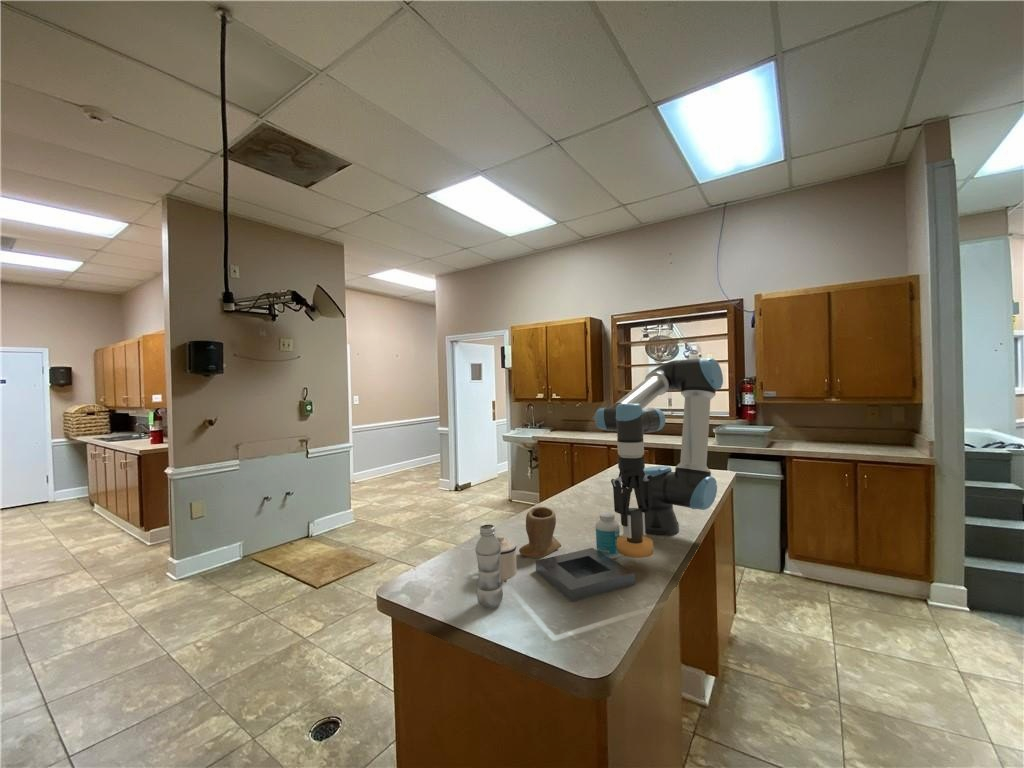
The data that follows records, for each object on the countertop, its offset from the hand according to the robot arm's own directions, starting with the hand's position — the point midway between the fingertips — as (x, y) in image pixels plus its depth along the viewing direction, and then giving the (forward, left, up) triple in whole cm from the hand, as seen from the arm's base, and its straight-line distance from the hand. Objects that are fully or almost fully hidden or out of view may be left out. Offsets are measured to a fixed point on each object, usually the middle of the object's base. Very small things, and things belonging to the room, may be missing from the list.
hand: (634, 535), depth 121 cm
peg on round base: (0, 0, -5) cm, 5 cm away
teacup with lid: (+37, -17, -11) cm, 42 cm away
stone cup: (+18, -25, -11) cm, 33 cm away
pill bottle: (+1, -12, -11) cm, 16 cm away
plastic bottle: (+45, -2, -11) cm, 46 cm away
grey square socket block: (+17, -2, -10) cm, 20 cm away
